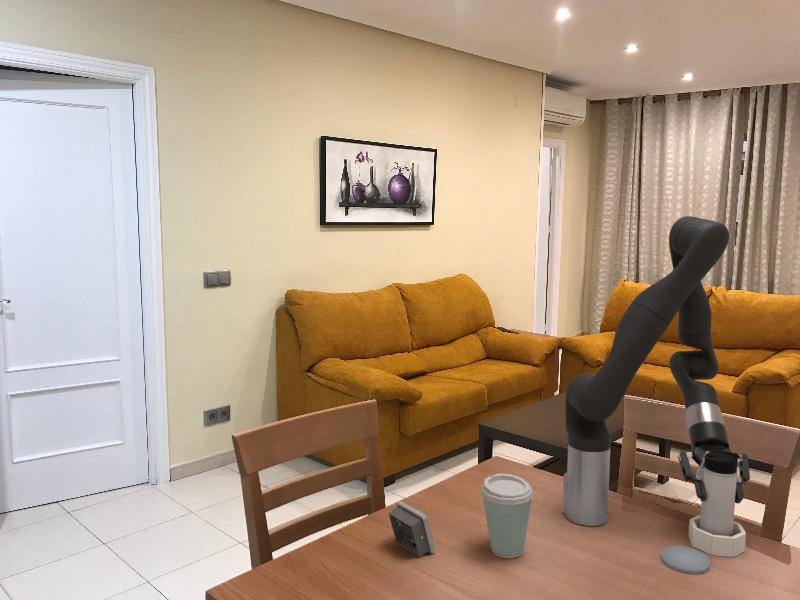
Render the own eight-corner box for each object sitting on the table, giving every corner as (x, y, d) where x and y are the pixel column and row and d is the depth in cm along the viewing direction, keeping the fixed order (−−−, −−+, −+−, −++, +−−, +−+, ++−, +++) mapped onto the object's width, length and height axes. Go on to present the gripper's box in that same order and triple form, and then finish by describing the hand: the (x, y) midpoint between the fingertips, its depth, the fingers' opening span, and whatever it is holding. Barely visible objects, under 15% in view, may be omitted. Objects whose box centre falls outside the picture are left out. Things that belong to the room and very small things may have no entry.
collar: (679, 540, 137) (680, 522, 137) (708, 528, 142) (709, 511, 142) (724, 561, 129) (725, 542, 128) (753, 547, 134) (754, 529, 133)
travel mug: (737, 553, 132) (744, 460, 129) (702, 549, 133) (709, 457, 130) (728, 538, 138) (734, 449, 135) (695, 535, 139) (701, 446, 137)
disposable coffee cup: (543, 553, 132) (544, 484, 130) (506, 571, 125) (508, 498, 123) (505, 533, 140) (506, 468, 138) (469, 549, 133) (470, 480, 132)
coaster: (651, 557, 130) (651, 553, 130) (679, 546, 135) (679, 541, 134) (691, 579, 122) (692, 574, 122) (719, 565, 127) (719, 561, 127)
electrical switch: (436, 553, 132) (433, 512, 130) (416, 564, 129) (413, 521, 127) (407, 536, 139) (404, 496, 137) (389, 545, 136) (385, 505, 134)
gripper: (676, 418, 141) (689, 492, 131) (746, 421, 139) (764, 496, 128) (668, 433, 147) (680, 505, 136) (735, 437, 144) (752, 510, 134)
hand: (721, 500), depth 132 cm, fingers closed on travel mug, 6 cm apart
